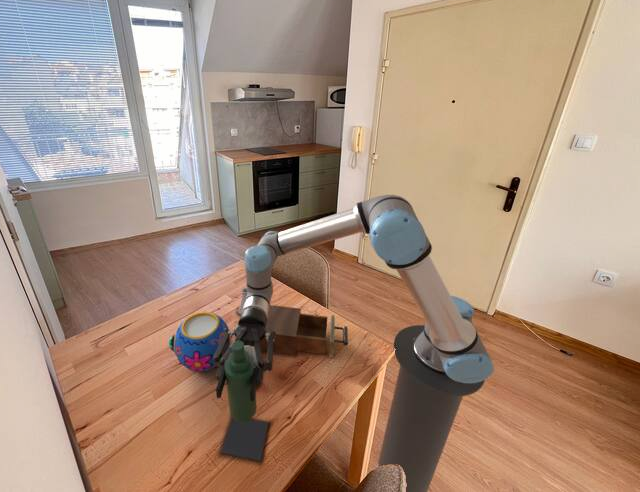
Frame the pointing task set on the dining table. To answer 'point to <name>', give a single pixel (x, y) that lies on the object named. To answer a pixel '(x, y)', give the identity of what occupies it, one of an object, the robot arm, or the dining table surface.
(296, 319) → the cabinet
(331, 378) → the dining table surface
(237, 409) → the bottle
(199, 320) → the ceramic pot
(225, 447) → the mat
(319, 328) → the drawer
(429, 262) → the robot arm
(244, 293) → the flask
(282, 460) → the dining table surface
